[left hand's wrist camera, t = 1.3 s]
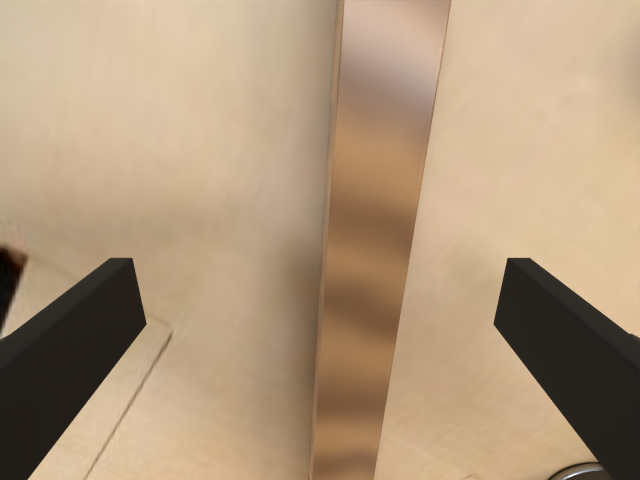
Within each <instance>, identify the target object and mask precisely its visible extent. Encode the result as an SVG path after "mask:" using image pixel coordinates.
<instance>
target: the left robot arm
mask: <svg viewBox="0 0 640 480" xmlns="http://www.w3.org/2000/svg"><path fill="white" fill-rule="evenodd" d="M145 326H146V319H145V315H144V310H143V305H142V301H141V296H140V291H139V287H138V282H137V277H136V273H135V268H134V263H133V259H132V258H110V259H108V260H107V261H106V262H104V263H103V264H102V265H101V266H99V267H98V268H97V269H95V270H94V271H93V272H91V273H90V274H89V275H87V276H86V277H85V278H83V279H82V280H81V281H80V282H78V283H77V284H76V285H74V286H73V287H72V288H70V289H69V290H68V291H66V292H65V293H64V294H63V295H61V296H60V297H59V298H57V299H56V300H55V301H53V302H52V303H51V304H49V305H48V306H47V307H46V308H44V309H43V310H42V311H40V312H39V313H38V314H36V315H35V316H34V317H32V318H31V319H30V320H28V321H27V322H26V323H25V324H23V325H22V326H21V327H19V328H18V329H17V330H15V331H14V332H13V333H11V334H10V335H8V336H6V337H4V338H2V339H0V480H28V478H29V477H30V476H31V474H32V473H33V472H34V470H35V469H36V468H37V467H38V465H39V464H40V463H41V461H42V460H43V459H44V457H45V456H46V455H47V454H48V452H49V451H50V450H51V448H52V447H53V446H54V444H55V443H56V442H57V440H58V439H59V438H60V437H61V435H62V434H63V433H64V431H65V430H66V429H67V427H68V426H69V425H70V423H71V422H72V421H73V420H74V418H75V417H76V416H77V414H78V413H79V412H80V410H81V409H82V408H83V407H84V405H85V404H86V403H87V401H88V400H89V399H90V397H91V396H92V395H93V393H94V392H95V391H96V390H97V388H98V387H99V386H100V384H101V383H102V382H103V380H104V379H105V378H106V377H107V375H108V374H109V373H110V371H111V370H112V369H113V367H114V366H115V365H116V363H117V362H118V361H119V360H120V358H121V357H122V356H123V354H124V353H125V352H126V350H127V349H128V348H129V347H130V345H131V344H132V343H133V341H134V340H135V339H136V337H137V336H138V335H139V333H140V332H141V331H142V330H143V328H144V327H145ZM494 326H495V327H496V328H497V330H498V331H499V332H500V333H501V335H502V336H503V337H504V339H505V340H506V341H507V343H508V344H509V345H510V347H511V348H512V349H513V350H514V352H515V353H516V354H517V356H518V357H519V358H520V360H521V361H522V362H523V363H524V365H525V366H526V367H527V369H528V370H529V371H530V373H531V374H532V375H533V377H534V378H535V379H536V380H537V382H538V383H539V384H540V386H541V387H542V388H543V390H544V391H545V392H546V393H547V395H548V396H549V397H550V399H551V400H552V401H553V403H554V404H555V405H556V407H557V408H558V409H559V410H560V412H561V413H562V414H563V416H564V417H565V418H566V420H567V421H568V422H569V423H570V425H571V426H572V427H573V429H574V430H575V431H576V433H577V434H578V435H579V437H580V438H581V439H582V440H583V442H584V443H585V444H586V446H587V447H588V448H589V450H590V451H591V452H592V454H593V455H594V456H595V457H596V459H597V460H598V461H599V463H600V464H601V465H602V467H603V468H604V469H605V470H606V472H607V473H608V474H609V476H610V477H611V478H612V480H640V338H639V337H637V336H635V335H633V334H629V333H627V332H626V331H625V330H623V329H622V328H621V327H619V326H618V325H617V324H615V323H614V322H613V321H612V320H610V319H609V318H608V317H606V316H605V315H604V314H602V313H601V312H600V311H598V310H597V309H596V308H594V307H593V306H592V305H591V304H589V303H588V302H587V301H585V300H584V299H583V298H581V297H580V296H579V295H577V294H576V293H575V292H574V291H572V290H571V289H570V288H568V287H567V286H566V285H564V284H563V283H562V282H560V281H559V280H558V279H557V278H555V277H554V276H553V275H551V274H550V273H549V272H547V271H546V270H545V269H543V268H542V267H541V266H539V265H538V264H537V263H536V262H534V261H533V260H532V259H530V258H508V259H507V263H506V268H505V273H504V277H503V282H502V287H501V291H500V296H499V301H498V305H497V310H496V315H495V319H494Z"/></svg>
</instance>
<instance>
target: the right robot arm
mask: <svg viewBox="0 0 640 480" xmlns="http://www.w3.org/2000/svg"><path fill="white" fill-rule="evenodd" d="M551 480H612V478H611V477H610V476H609V474H608V473H607V472H606V470H605V469H604V468H603V467H602V465H601V464H584V465H579V466H575V467H572V468H569V469H567V470H564V471H562V472H561V473H559V474H557V475H556V476H554V477H553V478H552V479H551Z"/></svg>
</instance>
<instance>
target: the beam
mask: <svg viewBox="0 0 640 480" xmlns="http://www.w3.org/2000/svg"><path fill="white" fill-rule="evenodd" d="M450 6H451V0H337V10H336V27H335V43H334V60H333V76H332V93H331V109H330V126H329V142H328V159H327V175H326V192H325V209H324V225H323V242H322V258H321V275H320V291H319V308H318V324H317V341H316V357H315V374H314V391H313V407H312V424H311V440H310V457H309V473H308V480H373V479H374V472H375V466H376V460H377V454H378V448H379V442H380V436H381V429H382V423H383V417H384V411H385V405H386V399H387V393H388V386H389V380H390V374H391V368H392V362H393V356H394V350H395V343H396V337H397V331H398V325H399V319H400V313H401V307H402V300H403V294H404V288H405V282H406V276H407V270H408V264H409V257H410V251H411V245H412V239H413V233H414V227H415V221H416V214H417V208H418V202H419V196H420V190H421V184H422V178H423V171H424V165H425V159H426V153H427V147H428V141H429V135H430V128H431V122H432V116H433V110H434V104H435V98H436V92H437V85H438V79H439V73H440V67H441V61H442V55H443V49H444V42H445V36H446V30H447V24H448V18H449V12H450Z"/></svg>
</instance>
